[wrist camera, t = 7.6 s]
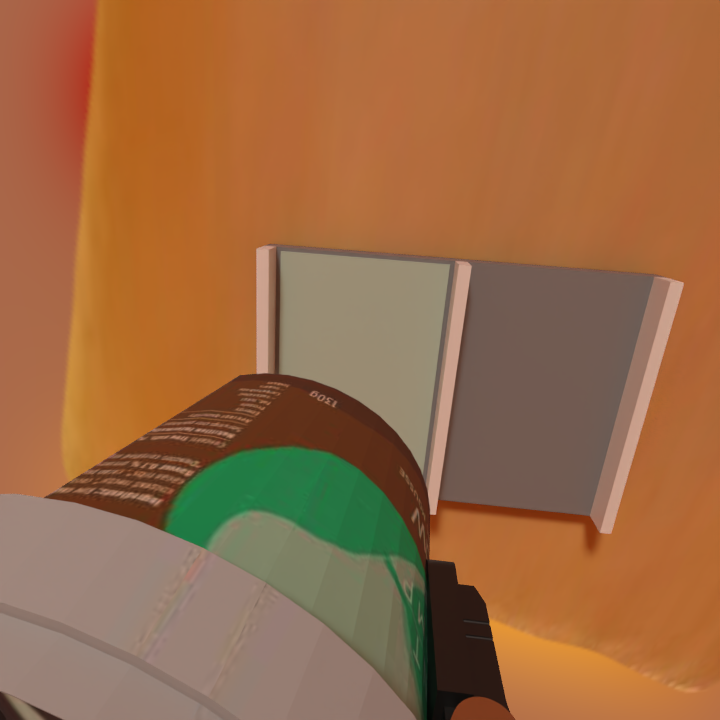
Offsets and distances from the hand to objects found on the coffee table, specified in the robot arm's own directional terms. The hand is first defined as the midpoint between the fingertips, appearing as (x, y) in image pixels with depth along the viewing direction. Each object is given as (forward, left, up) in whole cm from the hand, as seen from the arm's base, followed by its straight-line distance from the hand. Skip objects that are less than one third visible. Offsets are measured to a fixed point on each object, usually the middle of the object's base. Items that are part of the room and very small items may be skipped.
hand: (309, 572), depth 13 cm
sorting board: (-5, 0, -15) cm, 16 cm away
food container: (-1, -1, -3) cm, 4 cm away
